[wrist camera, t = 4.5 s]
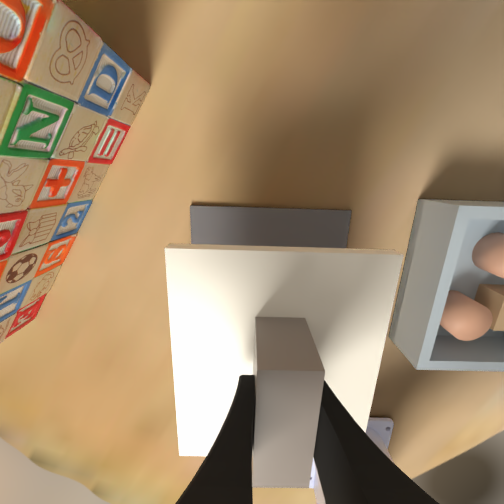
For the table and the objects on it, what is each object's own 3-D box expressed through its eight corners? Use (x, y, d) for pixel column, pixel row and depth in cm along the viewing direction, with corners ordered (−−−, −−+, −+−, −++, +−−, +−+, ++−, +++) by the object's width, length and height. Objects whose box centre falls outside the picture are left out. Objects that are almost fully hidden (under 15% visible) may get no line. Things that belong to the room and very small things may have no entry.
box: (500, 339, 23) (549, 372, 19) (388, 336, 23) (416, 369, 19) (549, 203, 20) (621, 210, 16) (418, 198, 20) (459, 205, 16)
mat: (328, 363, 24) (329, 366, 24) (196, 361, 24) (195, 363, 23) (350, 210, 20) (351, 210, 19) (190, 205, 20) (190, 205, 19)
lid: (351, 435, 17) (390, 538, 12) (185, 432, 17) (159, 536, 12) (387, 246, 13) (465, 288, 8) (173, 240, 13) (129, 280, 8)
